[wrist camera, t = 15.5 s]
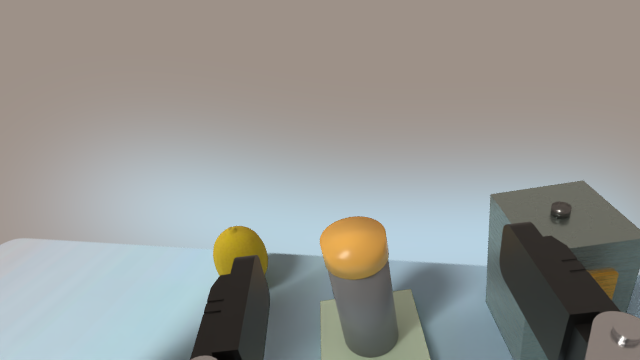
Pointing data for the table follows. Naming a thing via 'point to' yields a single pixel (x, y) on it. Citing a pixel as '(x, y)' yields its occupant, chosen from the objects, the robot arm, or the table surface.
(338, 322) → the pad
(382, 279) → the cylinder
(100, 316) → the table surface
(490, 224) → the unit
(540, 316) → the robot arm
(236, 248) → the lemon
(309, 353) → the table surface
